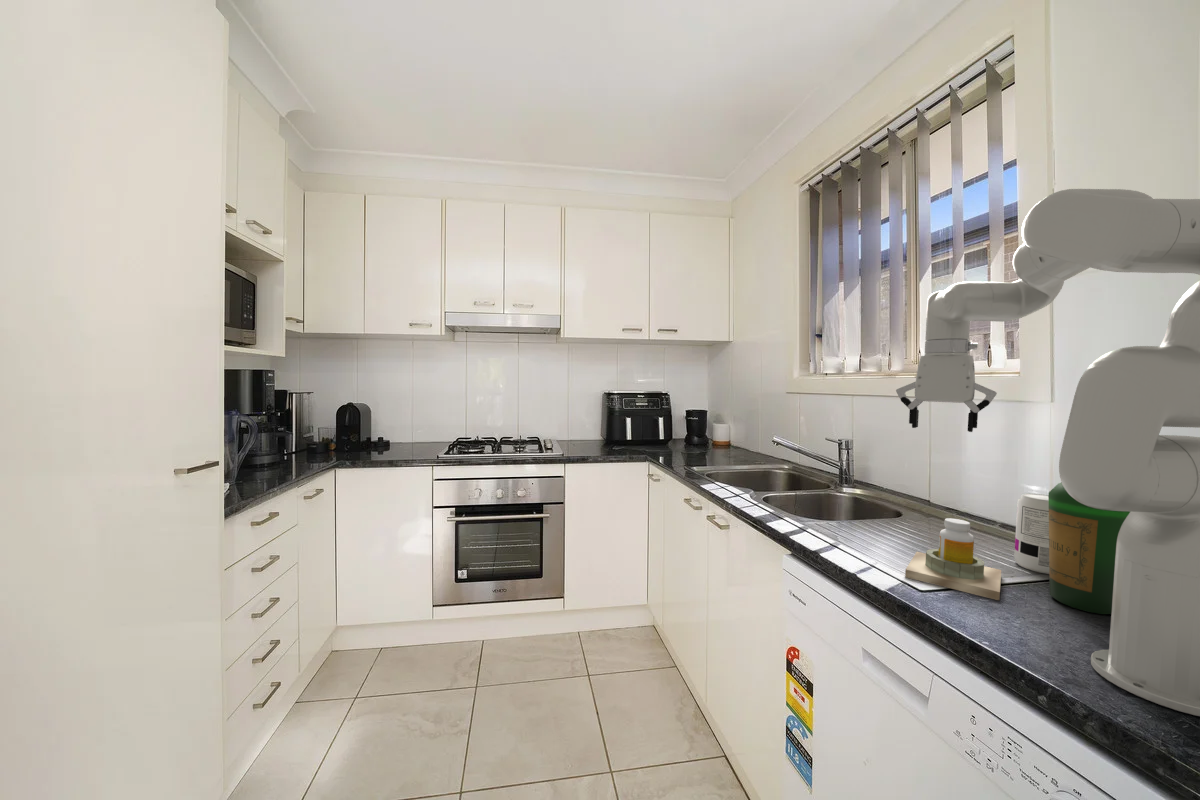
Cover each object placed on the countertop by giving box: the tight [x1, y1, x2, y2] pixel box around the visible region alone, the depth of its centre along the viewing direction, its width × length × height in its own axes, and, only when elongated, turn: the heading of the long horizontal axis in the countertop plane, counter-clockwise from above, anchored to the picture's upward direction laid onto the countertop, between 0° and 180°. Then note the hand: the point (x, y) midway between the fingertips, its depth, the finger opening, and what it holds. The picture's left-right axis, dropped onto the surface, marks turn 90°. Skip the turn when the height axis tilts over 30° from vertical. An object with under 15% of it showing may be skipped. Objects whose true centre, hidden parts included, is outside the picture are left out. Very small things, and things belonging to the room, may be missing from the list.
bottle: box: [1047, 482, 1130, 615], centre depth 81 cm, size 11×11×28 cm
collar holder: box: [904, 548, 1002, 601], centre depth 92 cm, size 14×14×4 cm
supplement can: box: [1013, 492, 1049, 575], centre depth 98 cm, size 8×8×15 cm
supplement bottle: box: [938, 517, 975, 564], centre depth 92 cm, size 5×5×10 cm
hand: (941, 429), depth 100 cm, fingers open, 9 cm apart
